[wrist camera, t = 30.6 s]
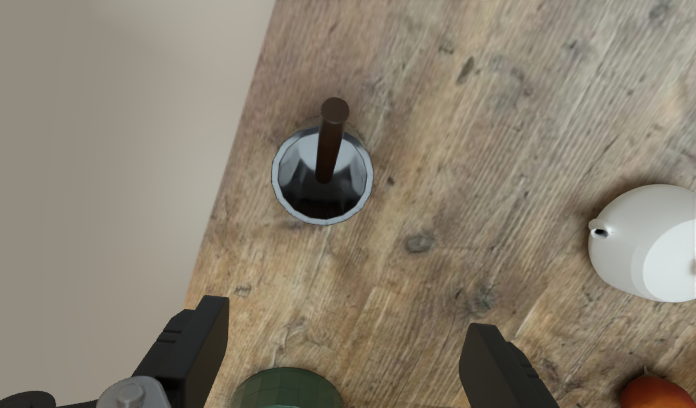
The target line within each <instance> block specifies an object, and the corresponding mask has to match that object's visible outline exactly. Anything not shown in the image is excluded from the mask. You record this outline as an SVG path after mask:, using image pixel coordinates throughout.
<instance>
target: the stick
mask: <svg viewBox="0 0 696 408" xmlns="http://www.w3.org/2000/svg"><path fill="white" fill-rule="evenodd" d="M348 116H349V107H348V105H347V103H346V102H345V101H344V100H342V99H340V98H337V97H332V98H329V99H327V100H325V101H324V102H323V104H322V106H321V112H320V123H319V135H318V146H317V157H316V168H315V178H316V180H317V181H318V182H319V183H321V184H327V183H329V182H330V181H331V179H332V176H333V173H334V169H335V165H336V161H337V158H338V154H339V150H340V146H341V143H342V139H343V135H344V131H345V128H346V124H347V120H348Z"/></svg>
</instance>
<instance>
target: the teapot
mask: <svg viewBox="0 0 696 408" xmlns="http://www.w3.org/2000/svg"><path fill="white" fill-rule="evenodd" d="M589 229H590V230H591V231H590V235H589V241H588V251H589V256H590V260H591V263H592V265H593V267H594V269H595V271H596V272H597V274H598V275H599V276H600V277H601V279H602V280H603V281H605V282H606V283H608V284H609V285H611V286H613V287H615V288H617V289H619V290H622V291H624V292H627V293H630V294H633V295H636V296H639V297H643V298H646V299H650V300H655V301H661V302H685V301H690V300H693V299H696V194H695V193H693V192H692V191H690V190H687V189H685V188H682V187H679V186H674V185H667V184H653V185H646V186H642V187H638V188H635V189H632V190H630V191H628V192H626V193H624V194H622V195H620V196H618V197H617V198H616V199H614V200H613V201H612V202H610V203H609V204H608V205H607V206H606V207H605V208H604V209H603V210H602V211H601V213H600V214H599V215H598V217H597V218H596V219H593V220H591V221H590V222H589Z"/></svg>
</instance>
